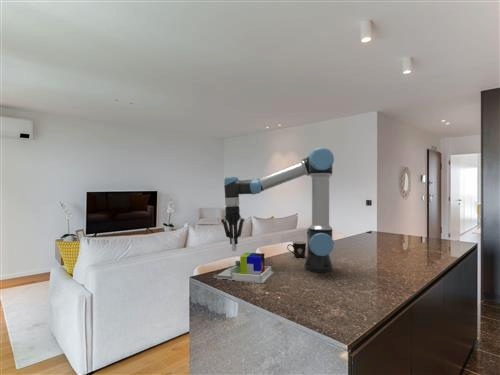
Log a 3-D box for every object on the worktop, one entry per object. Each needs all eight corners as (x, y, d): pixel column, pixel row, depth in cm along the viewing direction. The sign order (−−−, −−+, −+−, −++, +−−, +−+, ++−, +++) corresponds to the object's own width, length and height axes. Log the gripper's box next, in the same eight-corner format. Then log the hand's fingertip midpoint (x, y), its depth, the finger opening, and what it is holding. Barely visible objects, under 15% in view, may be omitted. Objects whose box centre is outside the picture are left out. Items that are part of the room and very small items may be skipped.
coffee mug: (308, 257, 186) (308, 242, 186) (303, 260, 179) (303, 244, 179) (292, 255, 192) (291, 240, 192) (286, 258, 185) (286, 242, 185)
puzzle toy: (260, 278, 137) (259, 257, 137) (240, 277, 139) (240, 256, 140) (264, 272, 146) (264, 253, 147) (246, 271, 149) (245, 252, 149)
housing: (273, 272, 149) (273, 266, 149) (263, 283, 131) (263, 276, 131) (229, 269, 157) (229, 263, 158) (213, 278, 140) (213, 271, 140)
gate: (245, 269, 153) (245, 258, 153) (233, 277, 137) (233, 265, 138) (241, 268, 154) (241, 257, 154) (229, 277, 138) (229, 264, 138)
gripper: (246, 205, 152) (248, 249, 152) (224, 206, 157) (225, 248, 156) (241, 205, 145) (243, 252, 144) (218, 206, 150) (220, 251, 149)
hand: (234, 250), depth 150 cm, fingers closed
